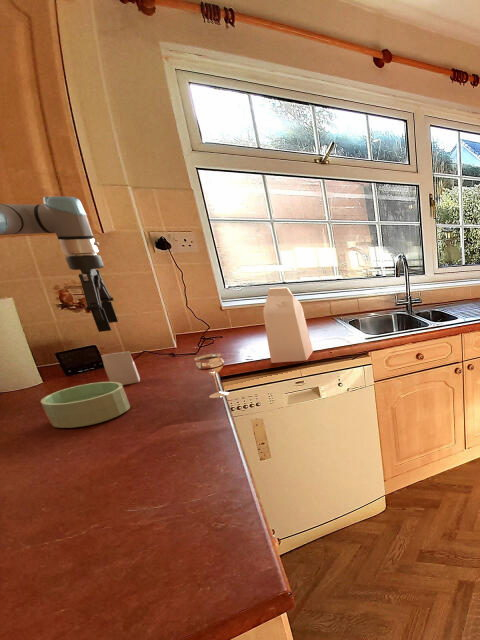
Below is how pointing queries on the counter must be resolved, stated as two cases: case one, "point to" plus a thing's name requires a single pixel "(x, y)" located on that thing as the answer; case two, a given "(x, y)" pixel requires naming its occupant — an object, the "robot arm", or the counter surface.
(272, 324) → the milk
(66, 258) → the robot arm
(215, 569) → the counter surface
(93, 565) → the counter surface
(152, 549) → the counter surface
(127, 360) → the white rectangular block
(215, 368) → the wineglass
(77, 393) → the bowl
